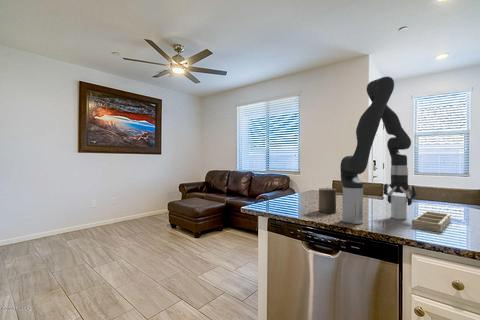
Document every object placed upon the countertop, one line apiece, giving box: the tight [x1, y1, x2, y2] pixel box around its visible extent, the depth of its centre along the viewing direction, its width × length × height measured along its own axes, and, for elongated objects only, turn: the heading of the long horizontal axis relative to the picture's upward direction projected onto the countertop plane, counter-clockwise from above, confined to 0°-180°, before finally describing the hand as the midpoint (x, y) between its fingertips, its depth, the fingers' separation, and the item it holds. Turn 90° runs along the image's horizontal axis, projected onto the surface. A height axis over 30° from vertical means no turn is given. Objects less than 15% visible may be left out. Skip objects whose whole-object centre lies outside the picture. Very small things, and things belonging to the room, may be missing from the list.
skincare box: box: [390, 194, 408, 220], centre depth 120 cm, size 6×4×12 cm
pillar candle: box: [318, 186, 337, 214], centre depth 134 cm, size 10×10×15 cm
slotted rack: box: [411, 210, 451, 233], centre depth 109 cm, size 27×10×4 cm, turn 130°
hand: (399, 204), depth 120 cm, fingers open, 8 cm apart
